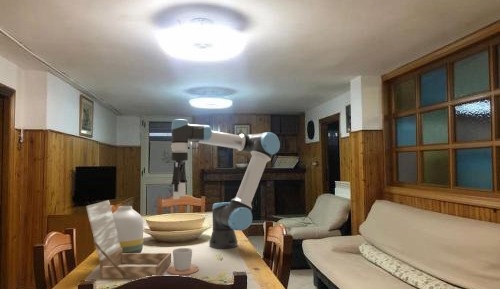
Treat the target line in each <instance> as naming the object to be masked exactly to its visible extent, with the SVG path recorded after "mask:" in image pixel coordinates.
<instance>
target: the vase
mask: <svg viewBox="0 0 500 289" xmlns="http://www.w3.org/2000/svg"><path fill="white" fill-rule="evenodd" d="M112 214H113V218H114V222H115V226H116V230H117V234H118V238H119V242H120V245H121V248H123V253H142V251H143V247H144V220H143V217H142V215H141V214H140V213H139V212H138V211H136V210H135V209H133V206H131V205H120V206H118V207H117V209H116V210H115V211H114V212H112Z"/></svg>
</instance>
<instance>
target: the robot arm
mask: <svg viewBox="0 0 500 289" xmlns="http://www.w3.org/2000/svg"><path fill="white" fill-rule="evenodd" d="M189 143H196V144H197V143H198V144H204V145H210V146H217V147H222V148H223V147H224V148H229V149H236V150H237V151H238V152H243V153H247V154H250V155H251V158H250V161H249V163H248V165H247V167H246V169H245V173H244V175H243V178H242V180H241V183H240V185H239V188H238V191H237V193H236V195H235V197H234V198H232V199H231V200H230V201H228V202H227V201H226V202H215V203H213V204H212V232H211V236H210V239H209V242H208V243H209V244H208V245H209V247H210V248H213V249H230V248H231V249H232V248H235V247H236V248H237V246H238V238H237V236H236V233H235V231H244V230H246V229H248V228H249V227H250V225H251V224H252V222H253V213H252V210H253V206H252V202H253V200H254V199H253V198H254V197H255V194H256V192H257V189H258V187H259V183H260V181H261V178H262V176H263V173H264V171H265V168H266V165H267V163H268V162H270V161H271V160H272V158H273V155H276V154H277V153H278V152H279V151H280V147H281V142H280V140H279V137H278V136H277V134H276V133H273V132H271V131H270V132H269V131H268V132H267V131H266V132H259V133H250V134H245V133H244V134H243V133H240V134H239V135H238V134H233V133H229V132H221V131H215V130H212V128H211V125H208V124H192V123H191V124H190V123H189V120H188V119H185V118H184V119H183V118H175V119H173V120H172V121H171V145H170V148H171V151H172V153H171V161H175V162H173V172H172V180H171V185H172V186H173V188H172V190H173V192H172V193H173V194H172V196H173V197H172V198H173V199H172V200H180V199H181V198H180V197H186V183H188V180H187V173H186V162H185V161H188V160H189V154H188V152H189Z"/></svg>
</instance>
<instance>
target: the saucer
mask: <svg viewBox="0 0 500 289" xmlns="http://www.w3.org/2000/svg"><path fill="white" fill-rule="evenodd" d="M199 268H200V267H199V266H198V265H196V264H191V267H190V269H189V270H186V271H177V270H175V268H174V265H171V266H168V267H167V268H166V269H167V270H166V272H167V273H168V274H170V275H175V276H184V275H185V276H186V275H191V274H196V273H197V272H198V271H199Z"/></svg>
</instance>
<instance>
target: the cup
mask: <svg viewBox="0 0 500 289" xmlns="http://www.w3.org/2000/svg"><path fill="white" fill-rule="evenodd" d="M172 258H173V266H174V268H175V270H177V271H186V270H189V269H190V267H191V265H192V258H193V249H192V248H190V247H180V248H174V249H173V250H172Z"/></svg>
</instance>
